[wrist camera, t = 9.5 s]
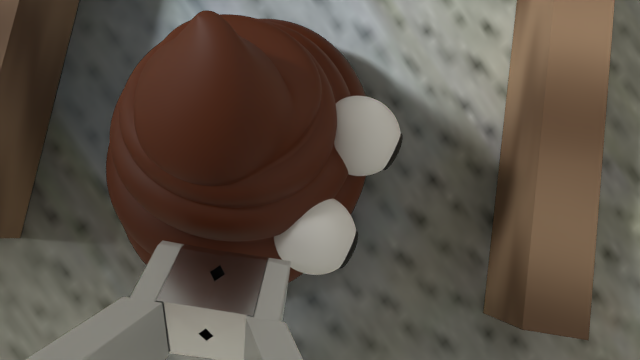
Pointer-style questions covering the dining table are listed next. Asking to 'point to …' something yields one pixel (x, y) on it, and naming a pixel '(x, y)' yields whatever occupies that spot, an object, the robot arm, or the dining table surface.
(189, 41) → the poop emoji
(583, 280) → the channel
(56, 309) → the dining table surface
